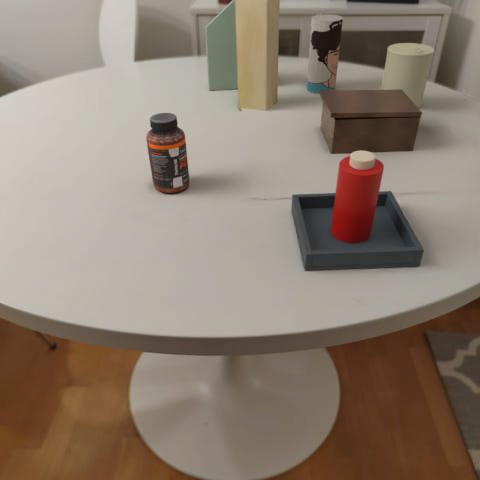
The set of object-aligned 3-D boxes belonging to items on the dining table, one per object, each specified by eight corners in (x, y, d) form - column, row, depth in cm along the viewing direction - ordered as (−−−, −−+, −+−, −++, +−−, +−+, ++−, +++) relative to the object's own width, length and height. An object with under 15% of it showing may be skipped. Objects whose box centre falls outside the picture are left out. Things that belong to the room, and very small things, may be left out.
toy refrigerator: (247, 98, 105) (245, -9, 92) (277, 101, 103) (281, -7, 90) (234, 110, 100) (231, -2, 86) (266, 114, 98) (268, 0, 84)
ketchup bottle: (365, 220, 65) (379, 145, 58) (374, 242, 61) (391, 164, 53) (327, 221, 65) (336, 146, 58) (334, 244, 61) (345, 166, 53)
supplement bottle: (190, 193, 73) (182, 123, 66) (152, 195, 73) (141, 126, 65) (190, 176, 77) (183, 108, 70) (155, 178, 77) (144, 110, 70)
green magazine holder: (270, 76, 117) (272, -15, 104) (275, 86, 111) (278, -9, 98) (207, 80, 116) (201, -12, 103) (209, 90, 110) (202, -6, 97)
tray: (387, 206, 69) (391, 190, 67) (419, 266, 58) (424, 250, 56) (291, 209, 69) (292, 194, 67) (304, 270, 58) (306, 254, 56)
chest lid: (330, 117, 77) (331, 113, 76) (319, 94, 85) (319, 90, 85) (420, 116, 77) (422, 112, 77) (400, 93, 86) (401, 89, 85)
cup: (328, 95, 106) (335, 22, 96) (302, 91, 108) (306, 19, 99) (339, 86, 110) (347, 16, 100) (313, 82, 113) (319, 13, 103)
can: (395, 117, 95) (408, 54, 87) (368, 103, 101) (378, 43, 93) (430, 109, 98) (445, 48, 90) (402, 96, 104) (414, 38, 96)
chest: (330, 157, 81) (334, 120, 77) (320, 131, 90) (323, 96, 86) (411, 155, 82) (420, 117, 77) (393, 129, 90) (400, 94, 86)
